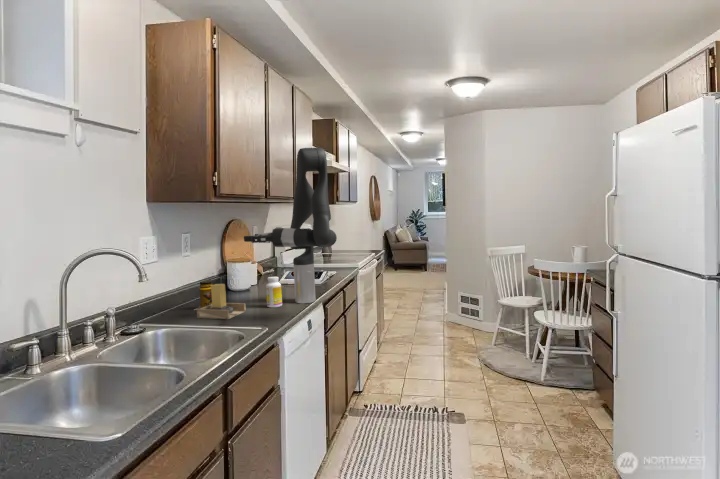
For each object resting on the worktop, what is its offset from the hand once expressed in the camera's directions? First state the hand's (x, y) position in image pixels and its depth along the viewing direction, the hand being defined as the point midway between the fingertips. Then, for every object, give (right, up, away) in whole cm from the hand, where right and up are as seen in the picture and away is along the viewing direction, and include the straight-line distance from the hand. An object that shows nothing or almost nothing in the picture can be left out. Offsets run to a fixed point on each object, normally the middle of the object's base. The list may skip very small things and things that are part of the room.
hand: (249, 237), depth 196 cm
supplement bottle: (+7, -30, +16) cm, 35 cm away
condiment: (-23, -31, +18) cm, 43 cm away
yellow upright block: (-13, -31, +3) cm, 34 cm away
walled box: (-12, -32, +3) cm, 34 cm away
